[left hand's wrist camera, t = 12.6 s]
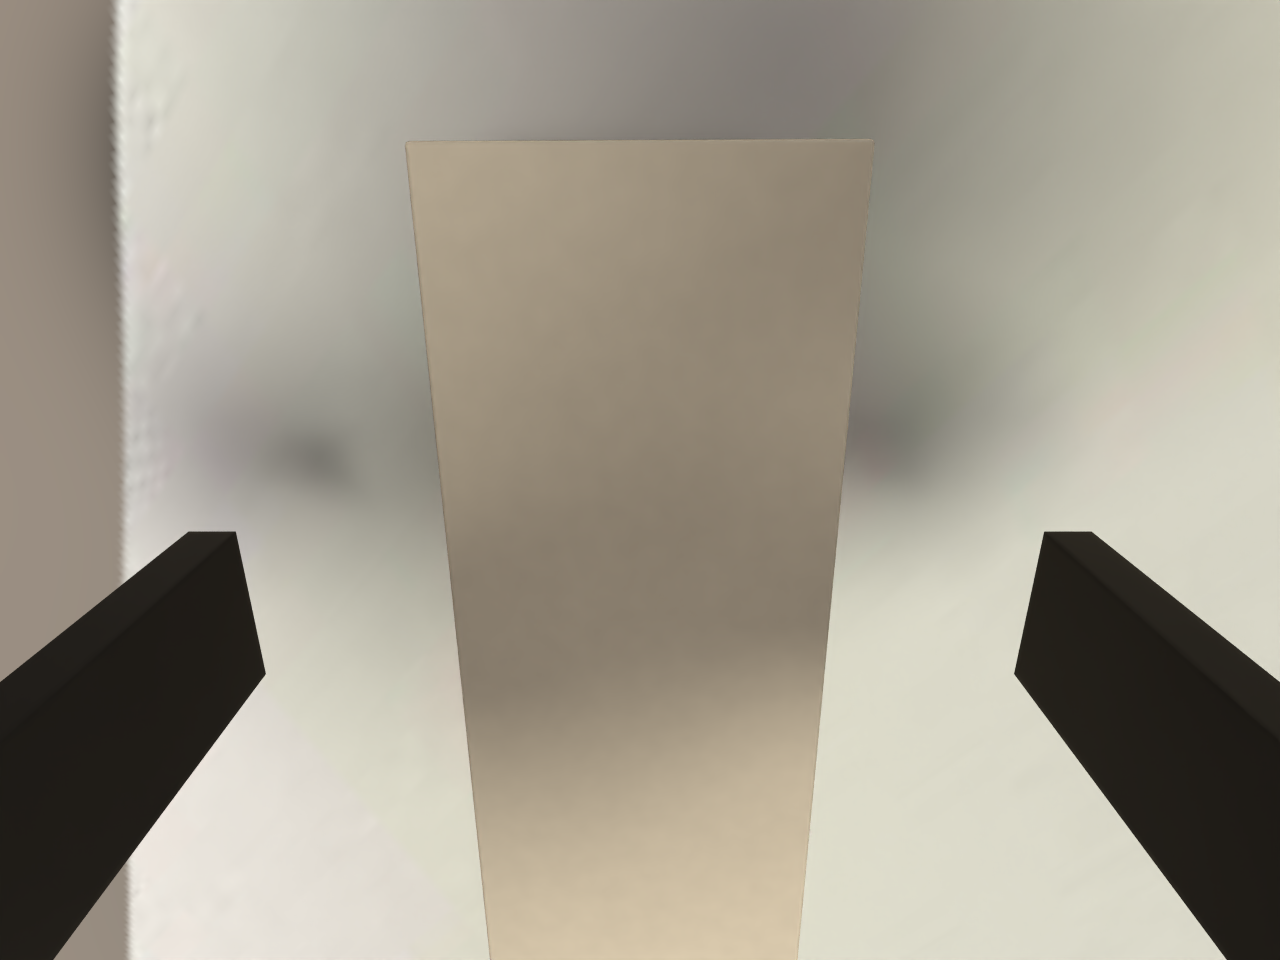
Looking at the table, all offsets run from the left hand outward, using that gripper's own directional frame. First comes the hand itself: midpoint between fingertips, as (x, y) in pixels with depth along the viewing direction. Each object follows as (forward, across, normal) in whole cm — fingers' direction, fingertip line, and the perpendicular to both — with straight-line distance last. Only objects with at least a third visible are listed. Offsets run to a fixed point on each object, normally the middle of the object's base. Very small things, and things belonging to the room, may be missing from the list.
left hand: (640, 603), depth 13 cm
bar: (+6, 0, -28) cm, 28 cm away
